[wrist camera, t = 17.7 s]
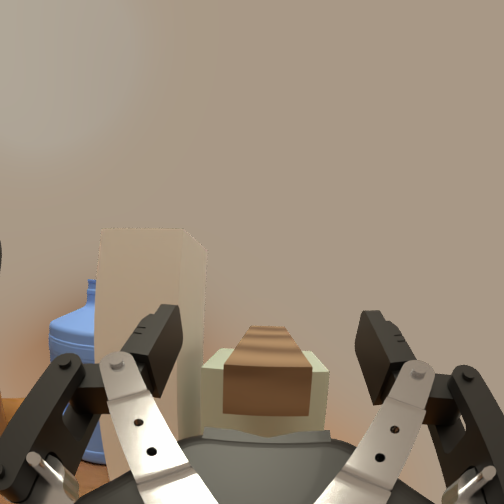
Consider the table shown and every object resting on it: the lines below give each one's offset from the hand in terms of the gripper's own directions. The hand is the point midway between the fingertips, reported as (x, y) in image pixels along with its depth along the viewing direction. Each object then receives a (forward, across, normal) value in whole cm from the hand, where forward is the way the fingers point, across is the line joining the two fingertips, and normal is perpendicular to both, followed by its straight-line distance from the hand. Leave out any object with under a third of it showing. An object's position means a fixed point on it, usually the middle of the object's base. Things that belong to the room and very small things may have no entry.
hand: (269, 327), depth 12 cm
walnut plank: (+8, 0, +9) cm, 12 cm away
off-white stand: (0, +11, +29) cm, 31 cm away
